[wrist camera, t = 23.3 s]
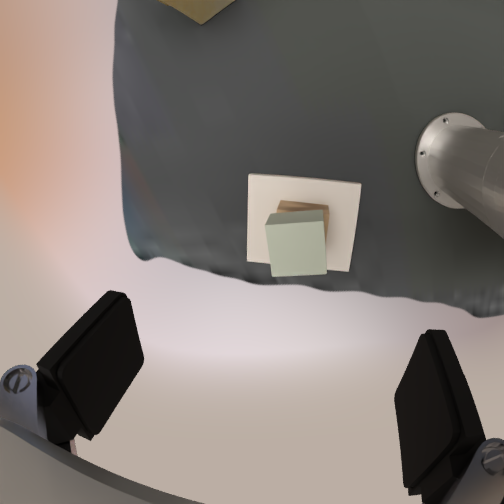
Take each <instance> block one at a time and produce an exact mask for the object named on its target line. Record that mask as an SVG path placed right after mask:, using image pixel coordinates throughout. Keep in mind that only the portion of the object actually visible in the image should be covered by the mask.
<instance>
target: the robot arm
mask: <svg viewBox="0 0 504 504" xmlns="http://www.w3.org/2000/svg"><path fill="white" fill-rule="evenodd" d="M443 119H444V120H445V122H443ZM421 151H422V155H420V152H421ZM415 166H416V171H417V175H418V178H419V180H420V183H421V184H422V186H423V188H424V190H425V191H426V192H427V193H428V194H429V196H431V197H432V198H433V199H434V200H435V201H437V202H438V203H440V204H441V205H443V206H446V207H448V208H454V209H463V208H466V209H467V210H468V211H470V212H471V213H472V214H473V215H475V216H476V217H477V218H479V219H480V220H481V221H482V222H484V223H485V224H486V225H487V226H488V227H490V228H491V229H492V230H493V231H495V232H496V233H497V234H498V235H500V236H501V237H502V238H503V239H504V132H500V131H495V130H489V129H486V128H485V127H484V126H483V125H482V124H481V123H480V122H479V121H477V120H476V119H474V118H473V117H471V116H469V115H466V114H462V113H446V114H442V115H440V116H437V117H435V118H434V119H433V120H431V121H430V122H429V123H428V124H427V125H426V126H425V128H424V129H423V131H422V132H421V134H420V136H419V139H418V142H417V145H416V151H415ZM435 191H436V194H434V192H435ZM143 363H144V356H143V351H142V348H141V343H140V340H139V335H138V331H137V327H136V323H135V318H134V314H133V309H132V305H131V301H130V299H128V298H127V296H126V294H125V293H121V292H116V291H111V290H110V291H108V292H106V293H105V294H104V295H103V296H102V297H101V298H100V299H99V300H98V301H97V302H96V303H95V304H94V305H93V306H92V307H91V308H90V309H89V310H88V311H87V312H86V313H85V314H84V315H83V316H82V317H81V318H80V319H79V320H78V321H77V322H76V323H75V324H74V325H73V326H72V327H71V328H70V329H69V330H68V331H67V332H66V333H65V334H64V335H63V336H62V337H61V338H60V339H59V340H58V341H57V342H56V343H55V344H54V346H53V347H52V348H51V349H50V350H49V351H48V352H47V353H46V354H45V355H44V356H43V357H42V358H41V360H40V361H39V362H38V363H37V366H38V368H39V369H38V371H37V372H35V370H34V369H33V368H32V367H30V366H28V365H17V366H14V367H12V368H10V369H9V370H7V371H6V372H5V373H4V374H3V376H2V378H1V380H0V504H204V503H199V502H196V501H192V500H188V499H185V498H182V497H178V496H175V495H172V494H168V493H165V492H162V491H159V490H156V489H153V488H151V487H148V486H145V485H142V484H139V483H137V482H134V481H132V480H129V479H126V478H124V477H121V476H119V475H116V474H114V473H112V472H110V471H107V470H105V469H103V468H101V467H98V466H96V465H94V464H92V463H90V462H88V461H86V460H84V459H82V458H80V457H78V456H77V451H76V446H75V440H74V437H75V436H76V434H78V435H79V436H82V437H84V438H86V439H88V440H90V441H91V440H92V438H93V437H94V435H97V434H99V433H100V431H101V430H102V428H103V427H104V425H105V424H106V422H107V420H108V419H109V417H110V416H111V414H112V412H113V411H114V409H115V407H116V406H117V404H118V403H119V401H120V400H121V398H122V397H123V395H124V394H125V392H126V390H127V389H128V387H129V386H130V384H131V383H132V381H133V379H134V378H135V376H136V375H137V373H138V372H139V370H140V369H141V367H142V365H143ZM394 402H395V409H396V415H397V423H398V432H399V440H400V449H401V460H402V472H403V484H404V487H405V488H408V493H409V496H411V495H420V494H421V495H422V502H423V503H422V504H504V440H502V439H500V438H491V439H488V440H486V438H485V434H484V431H483V428H482V424H481V421H480V418H479V415H478V412H477V409H476V406H475V403H474V400H473V397H472V394H471V391H470V388H469V386H468V383H467V381H466V378H465V375H464V374H463V372H462V369H461V366H460V364H459V361H458V359H457V356H456V354H455V351H454V349H453V347H452V344H451V342H450V340H449V337H448V335H447V333H446V331H445V330H431V329H429V330H427V331H426V333H425V334H421V336H420V337H419V340H418V342H417V345H416V347H415V350H414V352H413V354H412V357H411V359H410V361H409V364H408V366H407V368H406V371H405V373H404V375H403V377H402V379H401V381H400V384H399V386H398V388H397V390H396V393H395V397H394Z"/></svg>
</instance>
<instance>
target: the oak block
mask: <svg viewBox="0 0 504 504" xmlns="http://www.w3.org/2000/svg"><path fill="white" fill-rule="evenodd" d="M309 210H323V218H324V231H325V245H326V238H327V230H328V223H329V207H328V205H322V204H314V203H304V202H295V201H285V200H280V203H279V205H278V208H277V213H283V212H296V211H309Z"/></svg>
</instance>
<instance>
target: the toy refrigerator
mask: <svg viewBox="0 0 504 504" xmlns="http://www.w3.org/2000/svg"><path fill="white" fill-rule="evenodd" d="M158 1H160V2H162V3H163V4H165V5H167V6H169V5H170V6H172V7H173V8H175V9H177V10H178V11H180V12H182V13H183V14H185V15H186V16H188V17H190V18H191V19H193V20H194V21H196V22H197V23H199V24H204V23H205V22H206V21H208V20H209V19H211V18H212V17H213V16H214V15H216V14H217V13H218V12H220V11H221V10H222V9H224V8H225V7H226V6H228V5H229V4H231V3H232V2H233V1H235V0H158Z"/></svg>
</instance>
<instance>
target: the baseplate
mask: <svg viewBox="0 0 504 504" xmlns="http://www.w3.org/2000/svg"><path fill="white" fill-rule="evenodd" d="M360 192H361V183H357V182H348V181H339V180H330V179H320V178H309V177H298V176H286V175H272V174H257V173H250V174H249V179H248V232H247V261H251V262H260V263H270V258H269V251H268V244H267V237H266V230H265V224H266V222H267V219H268V217H269V215H270V214H271V213H277V208H278V205H279V203H280V200H285V201H295V202H304V203H314V204H322V205H328V207H329V223H328V230H327V238H326V262H327V270H336V271H346V272H349V267H350V261H351V255H352V249H353V243H354V236H355V230H356V223H357V215H358V208H359V200H360Z"/></svg>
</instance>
